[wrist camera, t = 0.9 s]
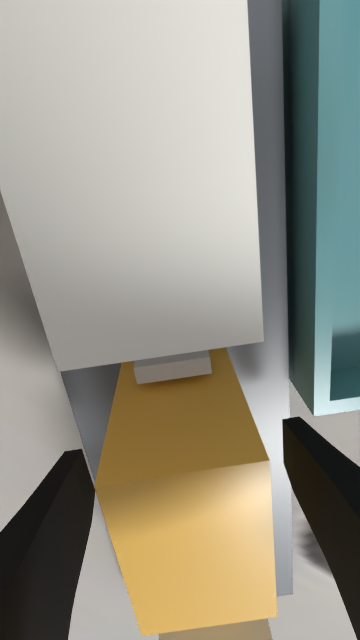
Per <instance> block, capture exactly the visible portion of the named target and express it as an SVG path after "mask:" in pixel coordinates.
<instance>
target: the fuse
mask: <svg viewBox="0 0 360 640" xmlns="http://www.w3.org/2000/svg"><path fill="white" fill-rule="evenodd" d="M0 191H1V194H2V197H3V200H4V204H5V207H6V210H7V213H8V216H9V219H10V223H11V226H12V229H13V232H14V235H15V238H16V241H17V245H18V248H19V251H20V254H21V257H22V260H23V263H24V267H25V270H26V273H27V276H28V279H29V282H30V286H31V289H32V292H33V295H34V298H35V301H36V304H37V308H38V311H39V314H40V317H41V320H42V323H43V326H44V330H45V333H46V336H47V339H48V342H49V345H50V348H51V352H52V355H53V358H54V361H55V364H56V367H57V371H58V372H60V371H67V370H74V369H81V368H88V367H95V366H101V365H108V364H115V363H122V362H129V361H135V360H142V359H149V358H156V357H163V356H169V355H176V354H183V353H190V352H197V351H204V350H210V349H217V348H224V347H231V346H238V345H244V344H251V343H258V342H264V332H263V312H262V292H261V271H260V251H259V230H258V210H257V190H256V169H255V149H254V129H253V108H252V88H251V68H250V47H249V27H248V6H247V0H0Z"/></svg>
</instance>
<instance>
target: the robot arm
mask: <svg viewBox="0 0 360 640" xmlns="http://www.w3.org/2000/svg"><path fill="white" fill-rule="evenodd" d="M282 430H283V463H284V466H285V469H286V472H287V475H288V478H289V480H290V483H291V486H292V489H293V491H294V494H295V496H296V498H297V500H298V502H299V504H300V506H301V508H302V510H303V512H304V514H305V517H306V519H307V521H308V523H309V525H310V527H311V529H312V531H313V533H314V535H315V537H316V539H317V541H318V543H319V545H320V547H321V549H322V551H323V554H324V556H325V558H326V560H327V562H328V565H329V567H330V569H331V571H332V574H333V576H334V579H335V581H336V584H337V587H338V589H339V592H340V594H341V597H342V600H343V602H344V605H345V607H346V610H347V613H348V615H349V618H350V621H351V623H352V626H353V629H354V632H355V634H356V637H357V640H360V467H359V466H358V465H356V464H355V463H354V462H352V461H351V460H350V459H349V458H347V457H346V456H345V455H344V454H342V453H341V452H340V451H339V450H337V449H336V448H335V447H334V446H333V445H331V444H330V443H329V442H328V441H327V440H326V439H324V438H323V437H322V436H321V435H320V434H319V433H317V432H316V431H315V430H314V429H313V428H312V427H311V426H310V425H308V424H307V423H306V422H305V421H304V420H303V419H302V418H300V417H294V418H287V419H282ZM94 497H95V489H94V486H93V483H92V480H91V476H90V473H89V470H88V467H87V464H86V461H85V458H84V455H83V451H82V449H78V450H72V451H65V452H64V453H63V455H62V456H61V457H60V458H59V460H58V461H57V462H56V464H55V465H54V466H53V468H52V469H51V470H50V472H49V473H48V474H47V476H46V477H45V478H44V479H43V481H42V482H41V483H40V485H39V486H38V487H37V489H36V490H35V491H34V492H33V494H32V495H31V496H30V497H29V499H28V500H27V501H26V503H25V504H24V505H23V506H22V507H21V509H20V510H19V511H18V512H17V513H16V515H15V516H14V517H13V518H12V519H11V520H10V522H9V523H8V524H7V525H6V526H5V528H4V529H3V530H2V531H1V532H0V640H68V635H69V628H70V621H71V614H72V608H73V603H74V598H75V593H76V588H77V584H78V580H79V575H80V571H81V567H82V562H83V558H84V554H85V550H86V545H87V541H88V536H89V532H90V527H91V523H92V516H93V507H94Z"/></svg>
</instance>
